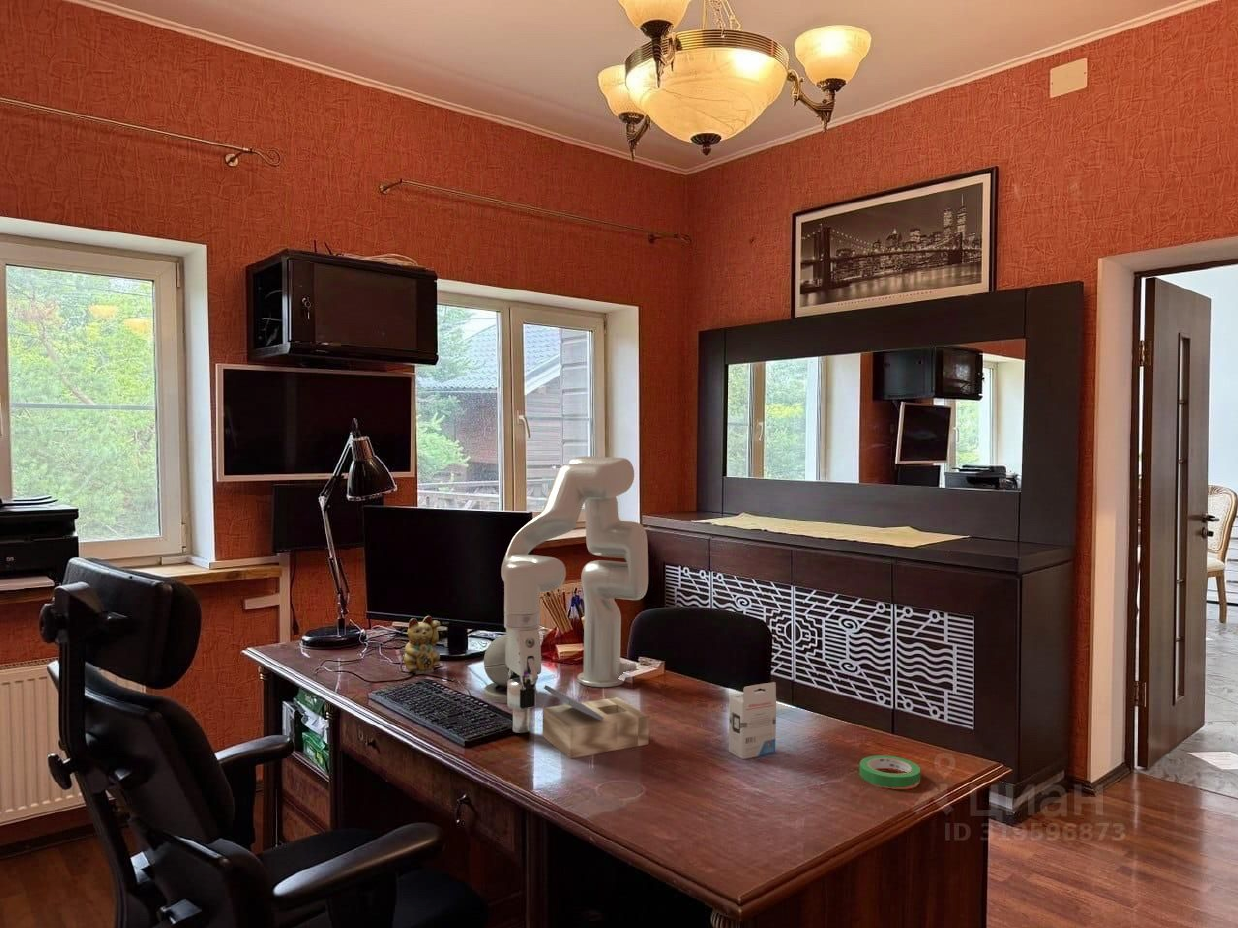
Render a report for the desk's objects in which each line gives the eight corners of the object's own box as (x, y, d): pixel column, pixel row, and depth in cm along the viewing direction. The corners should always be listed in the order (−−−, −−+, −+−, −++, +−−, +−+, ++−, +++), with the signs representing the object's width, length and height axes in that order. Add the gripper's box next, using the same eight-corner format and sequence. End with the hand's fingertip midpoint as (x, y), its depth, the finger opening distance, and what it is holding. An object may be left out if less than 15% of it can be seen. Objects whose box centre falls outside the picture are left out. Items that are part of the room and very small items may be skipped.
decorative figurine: (410, 676, 224) (411, 620, 224) (397, 669, 230) (397, 614, 230) (444, 671, 230) (444, 615, 230) (430, 664, 237) (430, 610, 236)
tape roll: (849, 779, 163) (849, 765, 163) (875, 763, 171) (875, 750, 171) (904, 796, 155) (905, 782, 155) (929, 779, 164) (930, 765, 163)
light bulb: (528, 722, 188) (529, 675, 187) (539, 731, 182) (539, 683, 182) (503, 727, 185) (503, 679, 184) (513, 736, 180) (513, 687, 179)
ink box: (761, 745, 179) (763, 675, 179) (776, 753, 175) (777, 681, 174) (727, 751, 175) (729, 680, 175) (741, 759, 171) (743, 686, 170)
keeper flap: (576, 704, 185) (578, 700, 185) (601, 721, 174) (603, 717, 174) (543, 688, 181) (545, 684, 181) (567, 704, 170) (569, 700, 170)
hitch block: (616, 723, 191) (617, 697, 191) (648, 744, 178) (648, 715, 178) (542, 735, 182) (542, 707, 182) (570, 758, 170) (570, 728, 170)
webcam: (509, 706, 202) (510, 643, 201) (472, 695, 209) (472, 634, 209) (546, 693, 212) (547, 633, 211) (509, 683, 220) (510, 626, 219)
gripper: (554, 626, 176) (553, 712, 177) (523, 609, 192) (522, 688, 193) (520, 630, 173) (519, 717, 174) (491, 612, 188) (491, 693, 189)
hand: (521, 701), depth 183 cm, fingers closed on light bulb, 6 cm apart
